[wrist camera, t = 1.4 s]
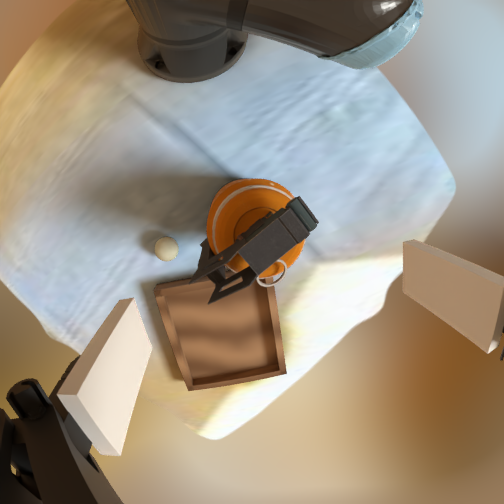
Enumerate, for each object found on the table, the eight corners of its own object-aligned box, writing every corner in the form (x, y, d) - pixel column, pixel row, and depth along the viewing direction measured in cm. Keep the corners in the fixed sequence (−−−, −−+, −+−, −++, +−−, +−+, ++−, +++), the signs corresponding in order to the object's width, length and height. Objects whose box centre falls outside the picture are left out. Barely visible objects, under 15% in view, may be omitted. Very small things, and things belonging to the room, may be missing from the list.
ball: (154, 237, 37) (149, 242, 34) (177, 232, 38) (173, 237, 34) (160, 259, 38) (155, 266, 35) (182, 255, 38) (179, 261, 35)
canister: (290, 217, 39) (357, 254, 20) (227, 268, 40) (238, 349, 20) (249, 165, 36) (282, 150, 17) (184, 219, 37) (150, 261, 18)
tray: (157, 284, 39) (153, 290, 36) (268, 262, 40) (271, 268, 38) (189, 381, 44) (188, 390, 41) (283, 364, 45) (286, 373, 42)
